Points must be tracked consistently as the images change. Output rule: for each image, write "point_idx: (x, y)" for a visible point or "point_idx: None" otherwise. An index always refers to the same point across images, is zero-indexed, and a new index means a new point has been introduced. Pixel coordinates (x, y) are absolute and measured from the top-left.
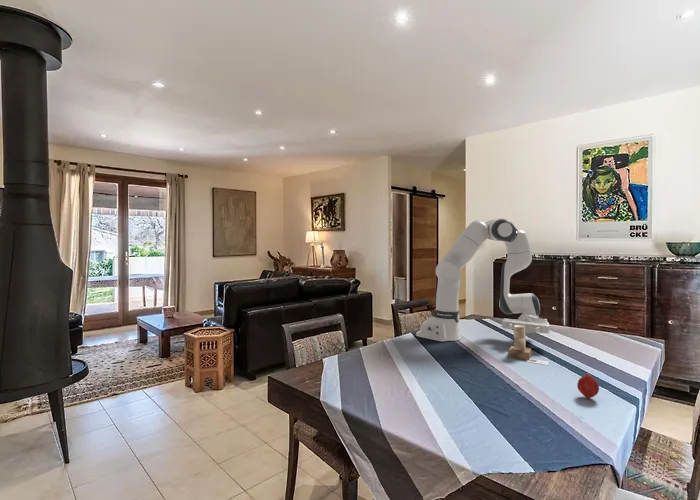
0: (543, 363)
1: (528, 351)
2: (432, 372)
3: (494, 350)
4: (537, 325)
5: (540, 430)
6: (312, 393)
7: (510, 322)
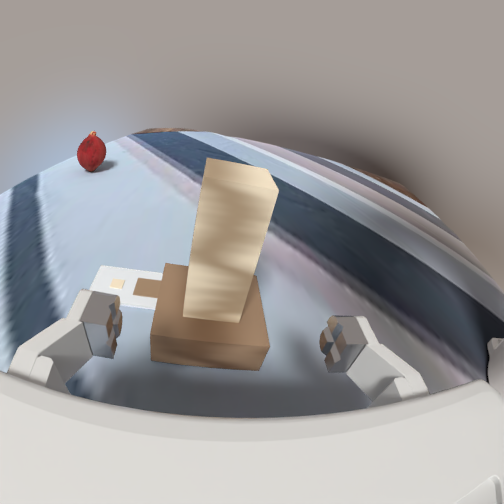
0: (112, 273)
1: (167, 278)
2: (327, 194)
3: None
4: (31, 383)
5: (169, 142)
6: (353, 167)
7: (431, 395)
